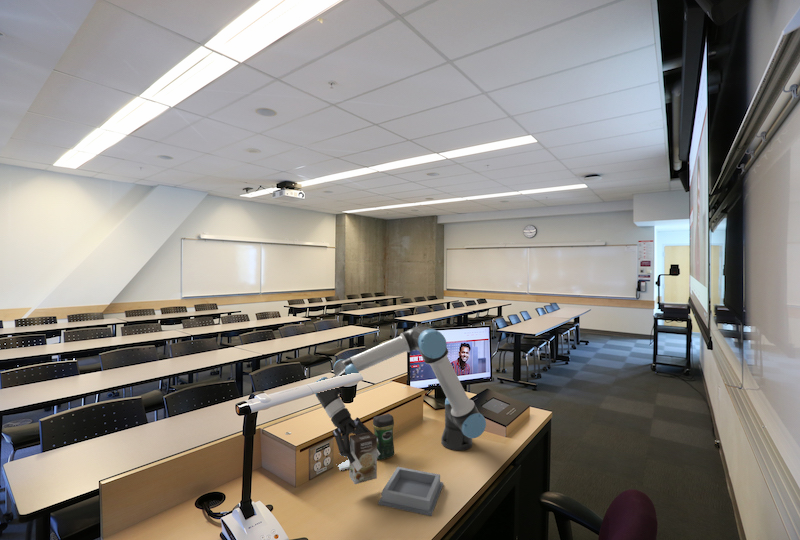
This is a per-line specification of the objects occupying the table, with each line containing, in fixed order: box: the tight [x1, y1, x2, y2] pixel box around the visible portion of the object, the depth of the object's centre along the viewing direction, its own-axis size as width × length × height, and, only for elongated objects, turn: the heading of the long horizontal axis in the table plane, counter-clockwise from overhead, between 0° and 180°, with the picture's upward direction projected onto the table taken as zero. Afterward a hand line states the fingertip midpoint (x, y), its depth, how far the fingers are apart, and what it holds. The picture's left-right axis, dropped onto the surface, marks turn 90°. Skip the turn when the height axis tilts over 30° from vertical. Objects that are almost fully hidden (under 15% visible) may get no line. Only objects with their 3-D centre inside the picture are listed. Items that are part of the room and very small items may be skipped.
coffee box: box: [348, 431, 378, 485], centre depth 145 cm, size 9×6×16 cm
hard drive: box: [337, 459, 350, 472], centre depth 168 cm, size 2×8×12 cm
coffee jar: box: [372, 413, 395, 460], centre depth 174 cm, size 10×8×19 cm
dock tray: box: [377, 466, 444, 517], centre depth 145 cm, size 20×20×4 cm
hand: (369, 462), depth 144 cm, fingers closed on coffee box, 10 cm apart
